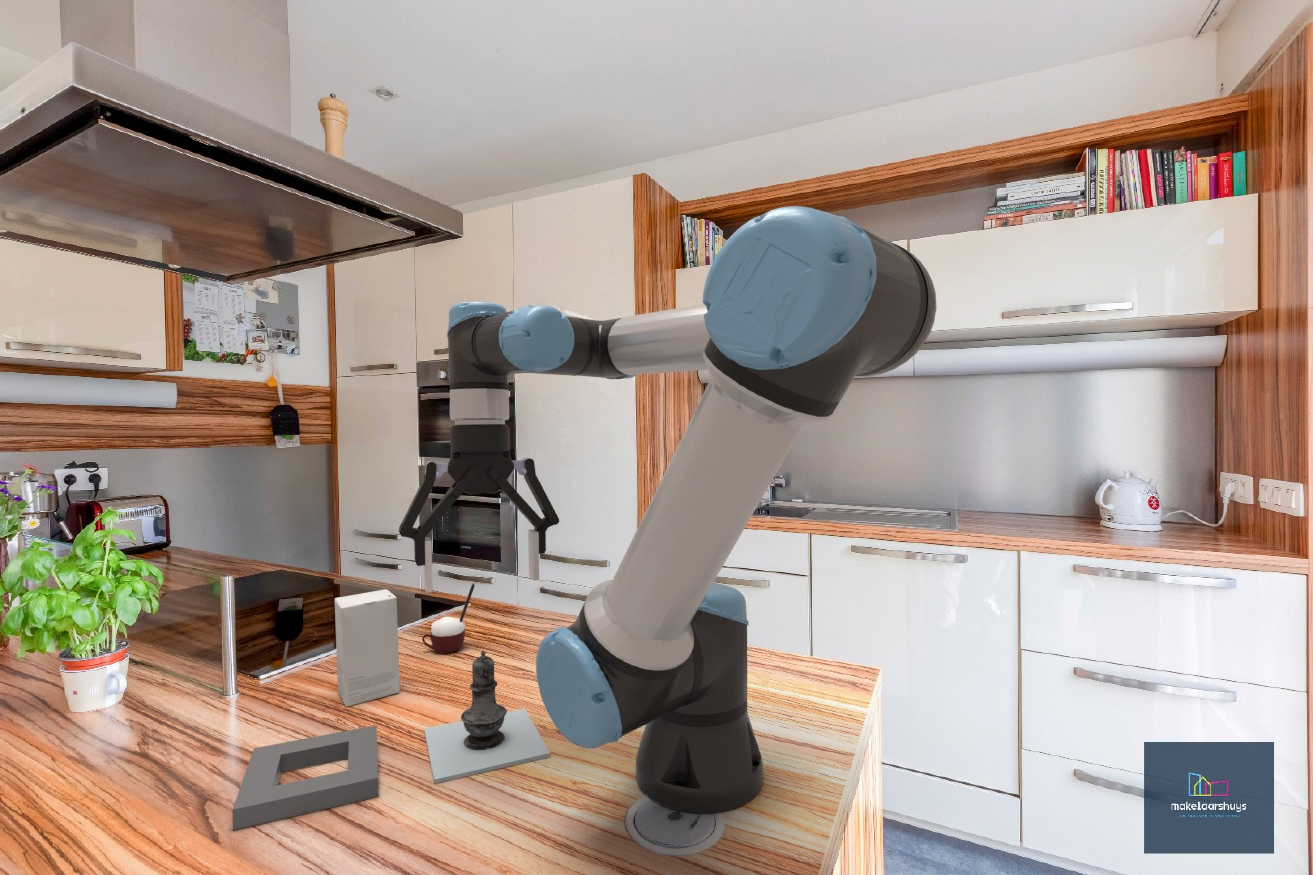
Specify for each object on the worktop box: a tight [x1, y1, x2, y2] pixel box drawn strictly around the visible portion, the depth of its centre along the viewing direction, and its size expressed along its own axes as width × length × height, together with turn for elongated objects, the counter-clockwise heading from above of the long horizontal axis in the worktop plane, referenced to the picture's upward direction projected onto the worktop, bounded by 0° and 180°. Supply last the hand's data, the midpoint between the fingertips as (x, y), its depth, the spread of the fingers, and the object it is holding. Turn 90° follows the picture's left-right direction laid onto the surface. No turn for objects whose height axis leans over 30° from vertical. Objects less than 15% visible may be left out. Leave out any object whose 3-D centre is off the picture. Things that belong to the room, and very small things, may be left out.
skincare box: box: [334, 589, 401, 708], centre depth 100 cm, size 8×7×16 cm
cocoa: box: [421, 583, 475, 654], centre depth 119 cm, size 10×6×12 cm, turn 85°
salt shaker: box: [460, 649, 508, 750], centre depth 84 cm, size 6×6×12 cm
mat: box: [423, 708, 551, 785], centre depth 84 cm, size 14×14×1 cm
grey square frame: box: [231, 724, 380, 831], centre depth 76 cm, size 14×14×2 cm
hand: (483, 584), depth 83 cm, fingers open, 13 cm apart
